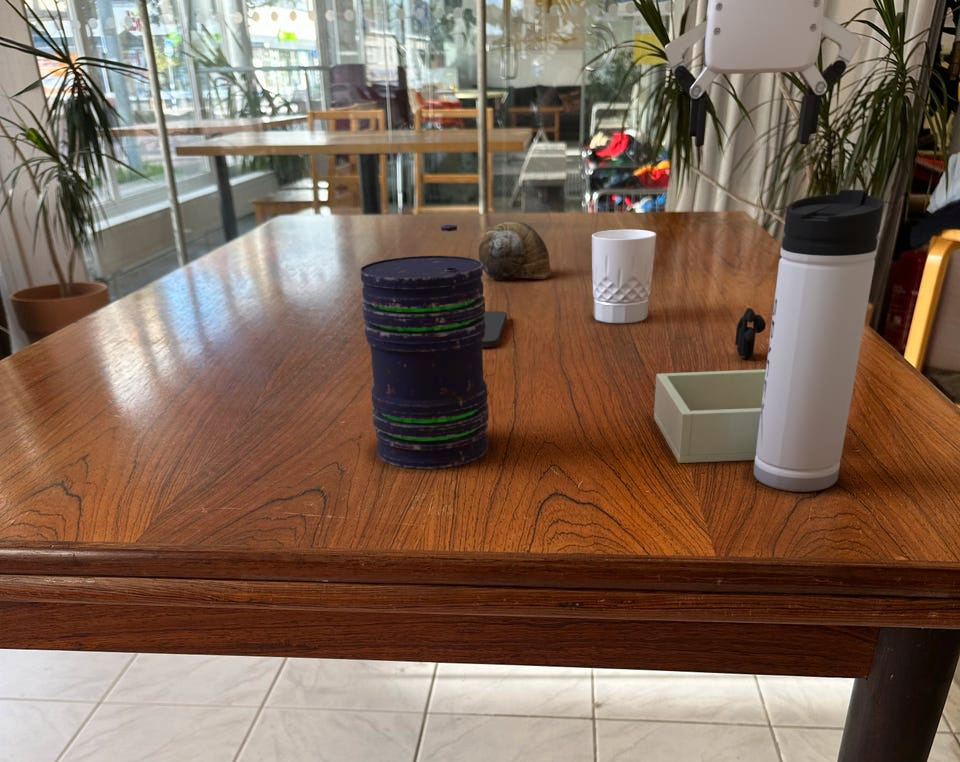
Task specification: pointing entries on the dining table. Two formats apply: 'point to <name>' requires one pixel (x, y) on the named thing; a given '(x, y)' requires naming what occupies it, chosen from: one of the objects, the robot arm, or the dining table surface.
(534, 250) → the seashell
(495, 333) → the phone
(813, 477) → the travel mug
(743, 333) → the wireless earbuds
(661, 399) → the box
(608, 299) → the white cup
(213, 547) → the dining table surface
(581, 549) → the dining table surface
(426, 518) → the dining table surface
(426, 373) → the storage jar
